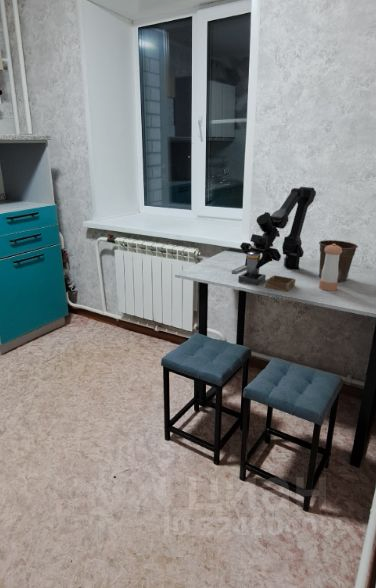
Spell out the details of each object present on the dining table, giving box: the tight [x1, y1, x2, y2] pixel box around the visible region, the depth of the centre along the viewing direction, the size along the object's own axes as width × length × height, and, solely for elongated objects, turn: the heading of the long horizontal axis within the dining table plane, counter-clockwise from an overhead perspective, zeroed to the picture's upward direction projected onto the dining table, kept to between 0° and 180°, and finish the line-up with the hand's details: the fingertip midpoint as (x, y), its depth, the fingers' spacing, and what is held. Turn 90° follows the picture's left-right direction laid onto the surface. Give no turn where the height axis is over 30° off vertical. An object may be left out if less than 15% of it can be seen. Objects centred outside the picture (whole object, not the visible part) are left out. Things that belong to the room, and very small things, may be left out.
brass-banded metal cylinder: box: [245, 252, 262, 279], centre depth 175 cm, size 6×6×12 cm
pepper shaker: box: [318, 244, 342, 292], centre depth 166 cm, size 7×7×19 cm
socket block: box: [238, 271, 267, 286], centre depth 176 cm, size 9×9×2 cm
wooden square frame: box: [264, 274, 296, 292], centre depth 169 cm, size 10×10×3 cm
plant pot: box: [318, 239, 359, 283], centre depth 180 cm, size 16×16×16 cm
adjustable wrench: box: [231, 264, 247, 275], centre depth 197 cm, size 25×6×2 cm, turn 140°
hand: (251, 266), depth 174 cm, fingers closed on brass-banded metal cylinder, 5 cm apart
